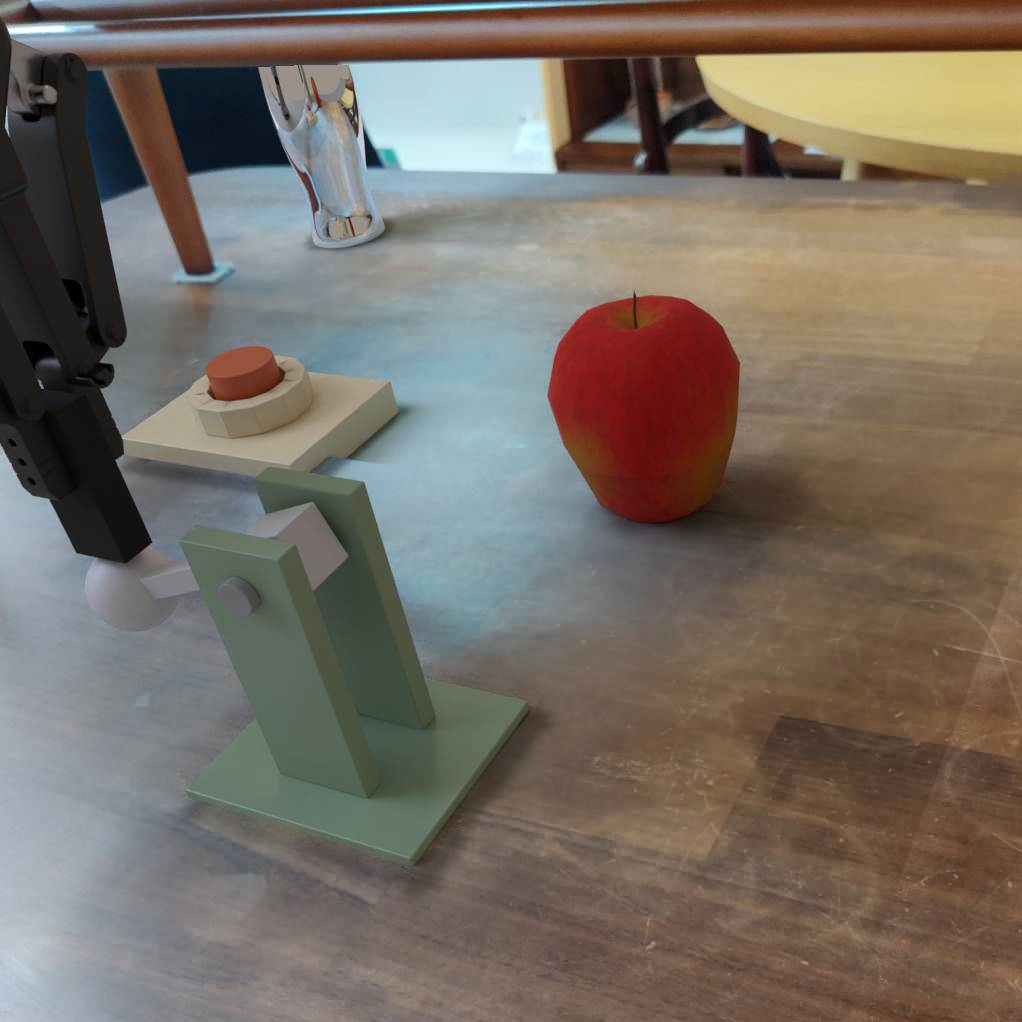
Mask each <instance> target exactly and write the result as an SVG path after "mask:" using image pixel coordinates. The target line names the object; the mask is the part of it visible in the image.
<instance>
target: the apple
mask: <svg viewBox="0 0 1022 1022" xmlns="http://www.w3.org/2000/svg"><path fill="white" fill-rule="evenodd" d="M734 349H735V348H734V347H733V345H732V343H731V341H730V339H729V337H728V335H727V332H726V330H725V329H724V326H722V324H721V323H720V322H718V320H716V318H715V317H714V316H712V315H711V314H710V313H709V312H707V311H706V310H704V309H702V308H701V307H700V306H698V305H696V304H695V303H693V302H692V301H690V300H689V299H686V298H683V297H682V298H681V297H676V296H671V295H654V294H649V295H648V294H647V295H642V296H637V294H636V292H635V290H633V295H632V297H628V298H623V299H618V300H613V301H608V302H604V303H602V304H598V305H597V306H594V307H591V308H589V309H586V311H585V312H583V313H582V315H580V316H579V317H578V318H577V319H576V320H575V322H574V323H573V324H572V325H571V326H570V328H569V329H568V331H566V333H565V334H564V336H563V337H562V338H561V339H560V341H559V342H558V344H557V347H556V350H555V353H554V357H553V361H552V367H551V372H550V378H549V383H548V389H547V394H546V397H547V400H548V403H549V405H550V409H551V411H552V415H553V418H554V421H555V424H556V426H557V430H558V432H559V436H560V438H561V442H562V444H563V447H564V449H565V450H566V451H567V453H568V455H569V456H570V457H571V459H572V461H573V462H574V464H575V466H576V468H577V469H578V470H579V473H580V474H581V475H582V477H583V479H584V480H585V482H586V484H587V485H588V487H589V489H590V490H591V492H592V494H593V495H594V497H595V498H596V500H597V502H598V503H599V505H600V506H601V507H603V508H605V509H607V510H608V511H610V512H612V513H614V514H616V515H618V516H620V517H622V518H624V519H626V520H630V521H635V522H639V523H667V522H671V521H675V520H677V519H681V518H686V517H687V516H690V514H692V513H693V512H697V511H699V510H700V509H701V508H702V507H703V506H704V505H705V504H707V502H708V501H710V500H711V499H712V498H713V496H714V495H715V494H716V492H718V490H719V489H720V487H721V486H722V485H723V482H724V478H725V473H726V470H727V466H728V463H729V459H730V455H731V452H732V447H733V444H734V441H735V436H736V431H737V423H738V417H739V416H738V414H739V394H740V374H741V361H740V359H739V358H738V355H737V353H736V351H735V350H734Z"/></svg>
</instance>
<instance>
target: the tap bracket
mask: <svg viewBox="0 0 1022 1022" xmlns="http://www.w3.org/2000/svg"><path fill="white" fill-rule="evenodd" d="M252 481H253V485H254V487H255V489H256V493H257V496H258V498H259V501H260V504H261V506H262V509H263V511H264V515H265V514H269V513H272V512H276V511H280V510H284V509H288V508H291V507H295V506H299V505H303V504H307V503H310V502H313V503H314V504H315V505H316V507H317V508H318V510H319V511H320V513H321V515H322V516H323V518H324V519H325V521H326V522H327V524H328V525H329V527H330V528H331V530H332V531H333V533H334V534H335V536H336V537H337V539H338V540H339V542H340V543H341V545H342V547H343V548H344V550H345V551H346V553H347V554H348V558H347V559H346V560H345V561H344V562H343V563H342V564H341V565H340V566H339V567H338V568H337V569H335V570H334V571H333V572H332V573H331V574H330V575H329V576H328V577H327V578H326V579H325V580H324V581H323V582H322V583H321V584H320V585H319V586H318V587H317V588H316V589H315V590H314V591H313V590H312V588H311V585H310V582H309V579H308V577H307V574H306V571H305V568H304V565H303V563H302V560H301V557H300V554H299V552H298V549H297V546H296V544H294V543H288V542H283V541H278V540H273V539H267V538H262V537H257V536H251V535H246V534H242V533H241V532H240V533H239V532H234V531H231V530H230V531H229V530H224V529H219V528H213V527H209V526H203V525H195V526H194V527H193V528H191V529H190V530H189V531H188V532H187V533H186V534H184V535H183V536H182V537H181V538H179V540H178V544H179V545H180V548H181V550H182V553H183V555H184V558H186V559H187V562H188V564H189V566H190V568H191V571H192V573H193V575H194V578H195V580H196V582H197V584H198V587H199V589H200V590H199V591H200V594H201V596H202V598H203V601H204V603H205V605H206V607H207V610H208V612H209V614H210V616H211V619H212V621H213V623H214V626H215V628H216V630H217V632H218V635H219V637H220V639H221V641H222V644H223V647H224V649H225V651H226V653H227V656H228V658H229V660H230V662H231V665H232V667H233V669H234V672H235V674H236V677H237V679H238V682H239V683H240V686H241V688H242V691H243V692H244V695H245V697H246V700H247V701H248V704H249V706H250V708H251V711H252V713H253V716H254V718H253V719H252V720H251V721H250V722H249V723H248V724H247V725H246V726H245V727H244V728H243V730H242V731H240V733H238V735H237V736H236V737H235V738H233V740H232V741H231V742H230V743H229V744H228V745H226V747H225V748H224V749H223V750H222V751H221V752H220V753H219V754H218V755H217V756H216V757H215V759H213V760H212V761H211V762H210V764H208V765H207V767H206V768H204V770H203V771H202V772H201V773H200V774H198V776H197V777H196V778H195V779H194V780H193V781H192V782H191V783H190V784H189V785H188V786H187V788H186V789H185V793H186V795H187V797H188V798H189V799H192V800H195V801H198V802H202V803H205V804H207V805H211V806H215V807H218V808H222V809H225V810H227V811H231V812H235V813H237V814H241V815H244V816H247V817H250V818H254V819H258V820H261V821H264V822H267V823H270V824H273V825H276V826H280V827H283V828H287V829H290V830H293V831H296V832H298V833H299V832H300V833H303V834H306V835H310V836H312V837H316V838H319V839H323V840H326V841H328V842H332V843H334V844H339V845H341V846H345V847H348V848H352V849H355V850H358V851H361V852H365V853H368V854H371V855H374V856H378V857H381V858H384V859H387V860H390V861H394V862H397V863H399V864H403V865H407V866H410V867H414V866H415V865H416V864H417V862H418V861H419V860H420V859H421V857H422V856H423V855H424V854H425V852H426V850H427V849H428V848H429V846H430V845H431V844H432V842H433V841H434V839H435V838H436V837H437V836H438V834H439V833H440V832H441V830H442V829H443V827H444V826H445V825H446V823H447V822H448V820H449V819H450V817H451V816H452V815H453V814H454V812H455V811H456V810H457V808H458V807H459V806H460V804H461V803H462V801H463V800H464V799H465V797H466V796H467V794H468V793H469V792H470V791H471V789H472V788H473V787H474V785H475V784H476V783H477V781H479V778H480V777H481V776H482V774H483V773H484V772H485V770H486V769H487V767H488V766H489V765H490V764H491V762H492V761H493V760H494V758H495V757H496V755H497V754H498V752H499V751H500V750H501V749H502V747H503V746H504V745H505V743H506V742H507V741H508V739H509V738H510V736H511V735H512V734H513V732H514V731H515V729H516V728H517V727H518V726H519V724H520V723H521V721H522V720H523V718H524V717H525V716H526V715H527V713H528V712H529V711H530V703H529V702H528V700H525V699H521V698H517V697H513V696H508V695H503V694H500V693H496V692H490V691H487V690H482V689H478V688H473V687H469V686H464V685H462V684H456V683H452V682H447V681H442V680H439V679H435V678H430V677H425V676H424V672H423V669H422V666H421V663H420V659H419V655H418V653H417V649H416V646H415V643H414V639H413V636H412V633H411V630H410V626H409V623H408V620H407V617H406V614H405V611H404V607H403V603H402V600H401V597H400V593H399V590H398V587H397V584H396V581H395V577H394V574H393V572H392V568H391V563H390V561H389V559H388V555H387V551H386V548H385V545H384V542H383V539H382V536H381V531H380V529H379V525H378V522H377V518H376V516H375V513H374V509H373V505H372V502H371V498H370V496H369V493H368V490H367V486H366V483H365V482H364V481H363V480H357V479H352V478H345V477H339V476H332V475H327V474H321V473H313V472H310V473H307V472H301V471H295V470H288V469H282V468H276V467H267V468H266V469H265V470H264V471H263V472H261V473H260V474H259V475H258V476H256V477H255V476H254V478H253V479H252Z"/></svg>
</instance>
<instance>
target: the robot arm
mask: <svg viewBox="0 0 1022 1022" xmlns="http://www.w3.org/2000/svg"><path fill="white" fill-rule="evenodd" d="M88 72H89V71H88V68H87V66H86V63H85V62H84V61H83V59H82V58H81V57H80V56H79V55H77V54H76V53H73V52H44V51H42V50H40V49H37V48H35V47H33V46H30V45H28V44H25V43H23V42H21V41H18V40H16V39H13V38H11V35H10V31H9V28H8V26H7V24H6V22H5V21H4V19H3V17H2V16H0V446H1V449H2V450H3V452H4V454H5V456H6V458H7V459H8V462H9V463H10V464H11V467H12V469H13V471H14V473H15V474H16V476H17V477H16V478H17V479H18V481H19V482H20V485H21V487H22V488H23V489H24V490H25V491H26V492H27V493H29V494H30V495H31V496H32V497H37V498H42V499H46V500H49V502H50V504H51V506H52V508H53V510H54V511H55V514H56V516H57V518H58V520H59V522H60V524H61V526H62V528H63V529H64V532H65V534H66V536H67V538H68V540H69V542H70V544H71V546H72V547H73V550H74V552H75V554H78V555H82V556H88V557H93V558H101V559H106V560H111V561H116V562H121V563H128V562H129V561H130V560H131V559H133V558H134V557H135V556H136V555H138V554H139V553H140V552H141V551H143V550H144V549H145V548H146V547H148V546H151V545H152V544H153V543H154V542H153V539H152V538H151V536H150V533H149V531H148V529H147V526H146V524H145V522H144V520H143V518H142V515H141V513H140V511H139V508H138V507H137V504H136V503H135V500H134V497H133V495H132V493H131V491H130V489H129V487H128V485H127V482H126V480H125V478H124V475H123V473H122V471H121V469H120V467H119V464H118V463H117V460H118V459H119V458H121V457H122V456H124V455H125V449H124V445H123V439H122V434H121V432H120V430H119V428H118V427H117V423H116V421H115V419H114V417H113V415H112V412H111V410H110V408H109V405H108V403H107V401H106V399H105V396H104V394H103V392H102V390H101V389H106V388H109V386H110V385H111V384H112V382H113V381H114V378H115V366H114V363H107V362H101V361H102V359H104V357H105V356H106V354H107V353H108V351H110V349H119V348H120V347H121V346H123V345H124V344H125V342H126V340H127V336H128V329H127V327H128V326H127V322H126V319H125V313H124V308H123V303H122V299H121V295H120V289H119V284H118V280H117V275H116V270H115V266H114V261H113V257H112V251H111V246H110V242H109V237H108V232H107V226H106V222H105V217H104V212H103V208H102V203H101V199H100V198H101V197H100V194H99V189H98V185H97V183H98V182H97V180H96V179H97V178H96V175H95V169H94V165H93V161H92V155H91V150H90V145H89V141H88V137H87V136H88V135H87V131H86V119H87V101H88V89H89V87H88V86H89V73H88ZM6 120H7V121H6ZM6 122H7V128H6ZM39 381H40V382H39ZM40 383H41V385H42V386H41V385H40ZM42 387H43V388H42Z"/></svg>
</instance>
